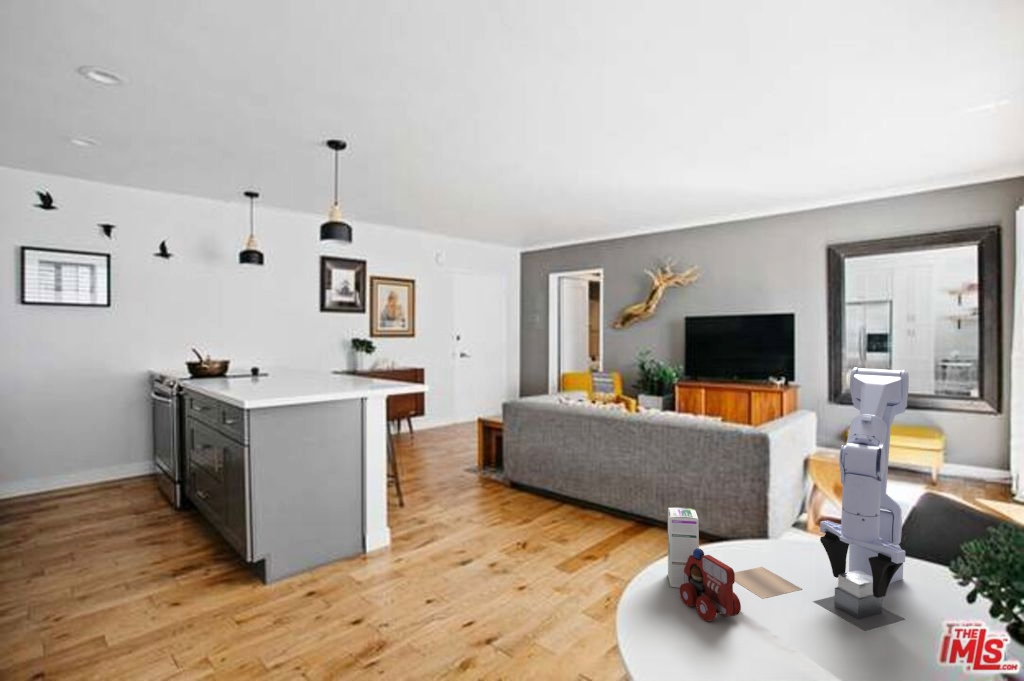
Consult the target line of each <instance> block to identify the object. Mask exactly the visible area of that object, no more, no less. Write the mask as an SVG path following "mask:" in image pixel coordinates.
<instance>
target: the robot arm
mask: <svg viewBox="0 0 1024 681" xmlns="http://www.w3.org/2000/svg"><path fill="white" fill-rule="evenodd" d="M909 380H910V379H909V372H907V370H906V369H900V370H898V369H882V368H881V369H880V368H861V367H860V368H859V367H856V366H855V367H853V369H851V371H850V376H849V392H850V396H851V401H852V404H853V408H855V409H857V411H859V415H856V416H854V417H853V418H852V420H851V422H850V426H849V430H848V436H847V440H846V443H845V444H842V445H841V447H840V450H839V456H838V463H839V464H838V465H839V471H840V484H842V488H841V489H842V490H841V491H842V492H841V493H842V495H841V517H840V519H841V520H840V523H836V522H833V521H831V520H822V521H820V522H819V532H820V533H822V534H824V535H823V536H820V539H819V541H820V543H821V545H822V546H823V548H824V550H825V552H826V554H827V557H828V559H829V563H830V567H831V570H832V574H833V578H838V575H839V574H843V573H846V571H847V556H848V554H849V556H848V572H852V571H856V570H859V571H861V572H863V573H865V574H868V575H870V576H872V577H873V595H874V597H876V598H880V597H882V598H884V597H886V596H887V593H888V592H887V591H888V589H889V586H890V585H891V584H892V583H894V582H898V581H903V580H904V563H905V562H906V550H904V549H902V548H901V546H900V543H901V541H902V532H903V531H902V529H903V517H902V513H903V512H902V508H901V506H900V504H899V503H898V502H897V501H895V499H894V498H892V497H891V496H890V495H888V494H887V486H888V485H887V484H888V473H889V471H888V469H889V460H890V458H889V457H890V445H891V444H890V443H891V430H892V429H891V427H892V425H893V421H894V419H895V416H898V415H901V414H903V413H905V412H906V408H908V396H909V385H910V383H909ZM848 550H849V552H848Z"/></svg>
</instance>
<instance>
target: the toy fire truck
mask: <svg viewBox="0 0 1024 681" xmlns="http://www.w3.org/2000/svg"><path fill="white" fill-rule="evenodd" d="M734 573H735V571H734V569H733V568H732V567H731V566H729V565H728V564H726V563H724V562H722V561H721V560H719V559H717V558H715V557H714V556H712V555H710V554H705V552H704V550H703V549H702V548H700V547H699V548H697V549H695V550H694V551H693V555H690V556H689V558H688V561H687V563H686V566H685V568H684V584H682V585H681V586H680V588H679V596H680V599H681V602H683V604H684V605H685V606H687V607H689V608H690V607H694V606H695V608H696V611H697V613H698V615H699V617H700V618H701V619H702V620H703V621H704V622H705V621H706V622H709V621H710V622H711V621H713V620H715V619H716V618H717V614H721V615H722V616H724V617H728V616H731V617H732V616H737V615H739V614H740V613H741V610H742V609H741V608H742V606H741V604H742V603H741V602H740V601H741V600H740V598H739V597H738V595H737V594H736V593H735V592H734V584H735V583H736V582H735V574H734Z"/></svg>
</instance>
